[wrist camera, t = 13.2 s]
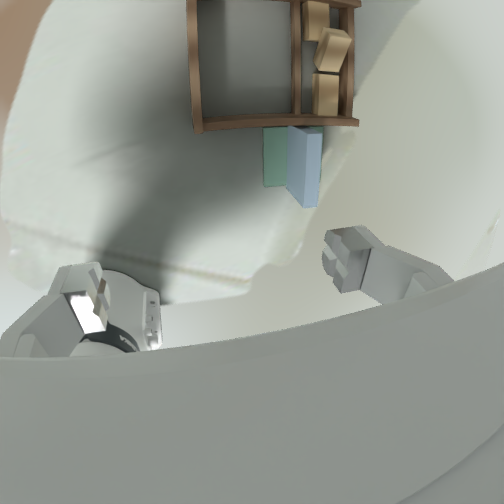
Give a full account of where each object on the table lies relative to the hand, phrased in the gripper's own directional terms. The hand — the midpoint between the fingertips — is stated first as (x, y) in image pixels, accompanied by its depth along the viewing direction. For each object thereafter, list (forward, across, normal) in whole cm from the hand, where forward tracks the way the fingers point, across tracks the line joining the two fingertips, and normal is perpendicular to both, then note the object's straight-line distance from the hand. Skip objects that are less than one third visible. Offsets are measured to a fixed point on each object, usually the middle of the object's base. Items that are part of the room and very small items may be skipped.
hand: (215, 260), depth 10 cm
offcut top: (+29, +19, +11) cm, 36 cm away
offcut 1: (+31, +17, +15) cm, 39 cm away
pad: (+31, +15, -6) cm, 35 cm away
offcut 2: (+31, +19, +4) cm, 37 cm away
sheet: (+31, +15, -6) cm, 35 cm away
